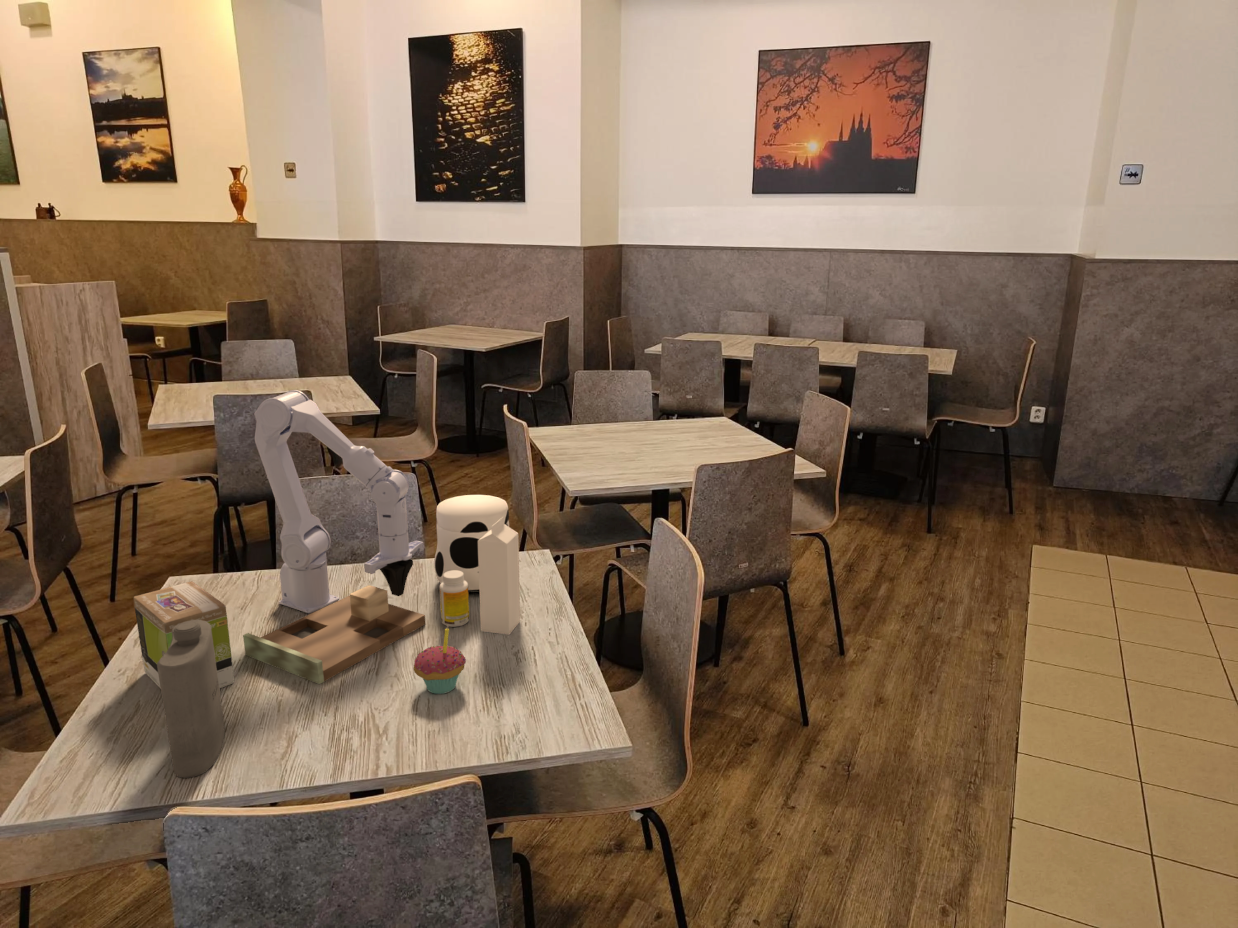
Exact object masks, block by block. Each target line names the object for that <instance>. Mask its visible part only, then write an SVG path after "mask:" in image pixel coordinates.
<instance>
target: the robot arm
mask: <svg viewBox="0 0 1238 928" xmlns="http://www.w3.org/2000/svg"><path fill="white" fill-rule="evenodd" d="M253 415H254V417H255V421H256V424H255V433H254V442H255V446H256V450H257V451H258V455H259V456H260V460H261V463H262V466H263V469H264V471H265V474H266V476H267V481H268V482H269V485H270V488H271V491H272V494H273V497H274V500H275V503H276V505H277V508H278V511H279V514H280V517H281V519H282V523H283V525H282V528H281V532H280V535H279V540H280V543H281V550H280V551H281V552H280V554H281V555H280V556H281V559H282V561H283V564H282V566H281V568H280V571H279V581H280V590H281V591H280V592H281V598H282V599H281V600H279V601H278V603H279V604H280V605H282V606H286V607H287V608H291V609H295V610H298V611H301V612H303V613H306V614H311V613H313V612H316V611H318V610H320V609H322V608H324V607H326V606H328V605H330V604H333V603H335V602H337V601H339V600H340V597H339V596H336V595H334V594H330V592H331V591H330V586H329V585H330V583H329V571H328V562H327V561H328V560H327V551H328V550H329V549H330V547H331V544H332V543H331V542H332V539H331V535H330V533H329V532H328V531H327V530H326V529H325V528H324V526H323V525H322V522H321V519H320V518H319V517H317V516H315V515H313V514H312V513H311V510H310V506H309V504H308V501H307V499H306V498H307V497H306V495H305V492H304V489H303V487H302V483H301V480H300V478H299V474H298V471H297V469H296V467H295V464H294V463H295V462H294V461H293V460H294V459H293V457H292V455H291V452H290V448H289V445H288V442H287V441H288V439H289V438H290V436H291V435H292V433H308V434H310V435H312V436H313V437H314V438H315V439H317V440H318V441H319V442H321V443H322V444H323V445H325V446H326V447H327V448H328V449H330V450H331V451H332V452H333V453H335V454H336V455H338V456H339V457H341V459H342V465H343V468H344V469H345V470H346V471H347V472H348V473H350V475H352V477H354V478H355V479H356V480H358V482H360V483H361V484H362V485H363V486H365V488H367V490H369V496H370V498H371V500H372V501H373V503H374V504H375V507H376V515H377V516H376V518H377V529H378V530H377V531H378V543H379V544H378V546H379V552H377V554H375V555H374V556H372V558H371V559H369V560H368V561H366V562H363V567H364V573H365V574H370V575H373V574H375V573H376V571H377V570H379V571H380V572H381V573H382V575H383V576H384V578H385V580H386V583H387V584H388V587H389V590H390V593H391V595H394V596H397V597H400V596H403V595H404V593H405V589H406V588H405V587H406V583H407V578H408V576H409V573H410V571H411V569H412V567H413V565H414V560H413V554H415V553H417V552H418V553H422V552H423V551H424V549H425V547H424V542H423V541H419V540H414V541H411V542H409V528H408V513H407V499H406V495H407V493H408V491H409V489H410V482H409V479H408V477H407V475H405V474H404V472H403V471H401V470H398V469H393V468H392V466H390V465H389V466H388V465H386V464H385V463H384V462H383V460H381V459H380V458H379V457H377V456H376V455H375V451H374V450H373V448H372V447H369V448H367V447H366V446H364V445H355V444H354V443H353V442H352V441H351V440H350V439H349V438H348V437H347V436H346V435H345V434H344V433H342V431H341V430H340V429H339V428H338V427H337V426H336V425H335V424H334V423H333V422H332V421H330V420H329V418H328V417H327V416H325V415H324V413H322V412H321V410H320V407H318V404H317V403H316V402H315V401H313V400H312V399H310V398H309V397H308V396H307V394H305V392H303V391H301V390H297V389H292V390H289V391H286V392H285V393H282V394H279V395H277V396H274V397H270V398H266V399H265V400H262V402H261V403H260V404H259V406H258V407H257V409H256V410H255V412H254V413H253Z"/></svg>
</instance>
